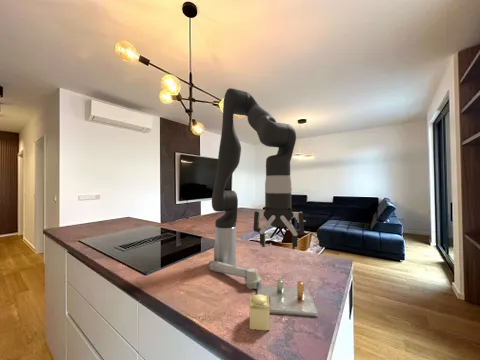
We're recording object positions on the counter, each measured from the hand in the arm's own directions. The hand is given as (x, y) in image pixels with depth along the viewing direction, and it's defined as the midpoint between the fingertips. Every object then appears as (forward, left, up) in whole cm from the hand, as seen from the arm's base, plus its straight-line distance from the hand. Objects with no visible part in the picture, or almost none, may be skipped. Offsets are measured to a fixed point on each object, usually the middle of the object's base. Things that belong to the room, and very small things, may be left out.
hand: (278, 247), depth 60 cm
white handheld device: (-16, +19, -19) cm, 31 cm away
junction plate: (+2, +5, -18) cm, 19 cm away
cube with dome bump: (-5, -6, -18) cm, 20 cm away
